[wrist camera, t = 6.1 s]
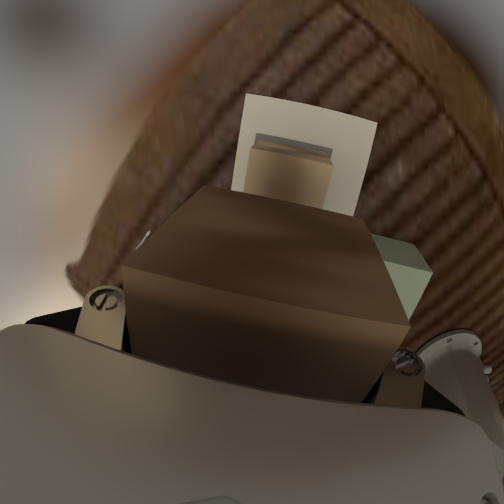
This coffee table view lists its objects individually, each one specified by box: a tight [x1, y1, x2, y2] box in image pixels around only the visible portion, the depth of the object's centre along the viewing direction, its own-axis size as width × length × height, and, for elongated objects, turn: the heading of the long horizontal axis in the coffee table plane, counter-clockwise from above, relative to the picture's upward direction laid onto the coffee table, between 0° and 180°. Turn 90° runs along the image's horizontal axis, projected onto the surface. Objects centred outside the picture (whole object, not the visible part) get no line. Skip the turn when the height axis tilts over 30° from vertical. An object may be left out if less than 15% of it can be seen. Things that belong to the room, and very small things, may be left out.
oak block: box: [243, 139, 333, 209], centre depth 25 cm, size 6×6×6 cm
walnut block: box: [121, 185, 411, 403], centre depth 10 cm, size 6×6×6 cm
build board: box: [231, 94, 377, 216], centre depth 28 cm, size 12×14×1 cm
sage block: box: [370, 233, 433, 320], centre depth 28 cm, size 6×6×6 cm
